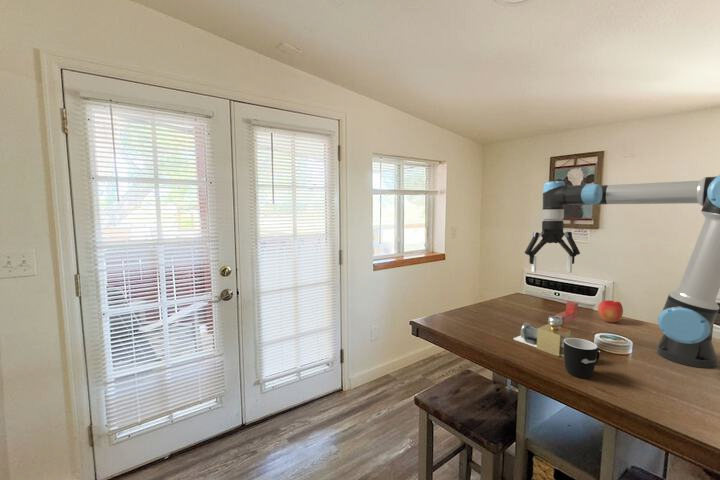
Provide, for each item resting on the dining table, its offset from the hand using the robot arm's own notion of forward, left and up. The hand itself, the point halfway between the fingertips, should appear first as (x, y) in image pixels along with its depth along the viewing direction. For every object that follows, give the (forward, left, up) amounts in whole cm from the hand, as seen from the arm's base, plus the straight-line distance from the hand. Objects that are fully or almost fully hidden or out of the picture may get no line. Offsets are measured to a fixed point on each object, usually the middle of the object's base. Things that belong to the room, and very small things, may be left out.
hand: (551, 271), depth 136 cm
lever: (-8, +7, -17) cm, 20 cm away
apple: (-8, -39, -27) cm, 48 cm away
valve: (-8, +13, -27) cm, 31 cm away
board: (-7, +9, -27) cm, 29 cm away
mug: (-22, +23, -27) cm, 42 cm away
